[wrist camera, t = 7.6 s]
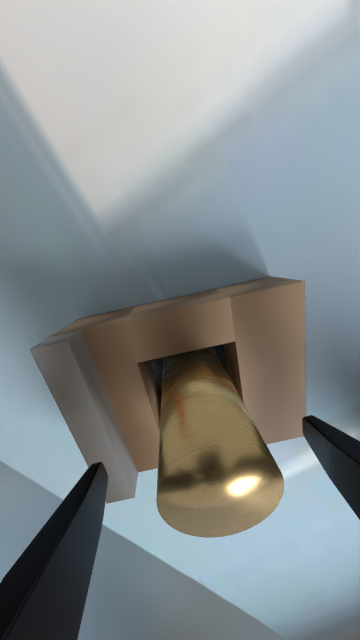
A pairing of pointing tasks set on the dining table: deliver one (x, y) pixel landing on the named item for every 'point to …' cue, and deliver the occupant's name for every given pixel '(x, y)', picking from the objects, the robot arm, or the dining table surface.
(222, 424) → the brass cylinder rod
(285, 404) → the jig
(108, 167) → the dining table surface
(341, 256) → the dining table surface
